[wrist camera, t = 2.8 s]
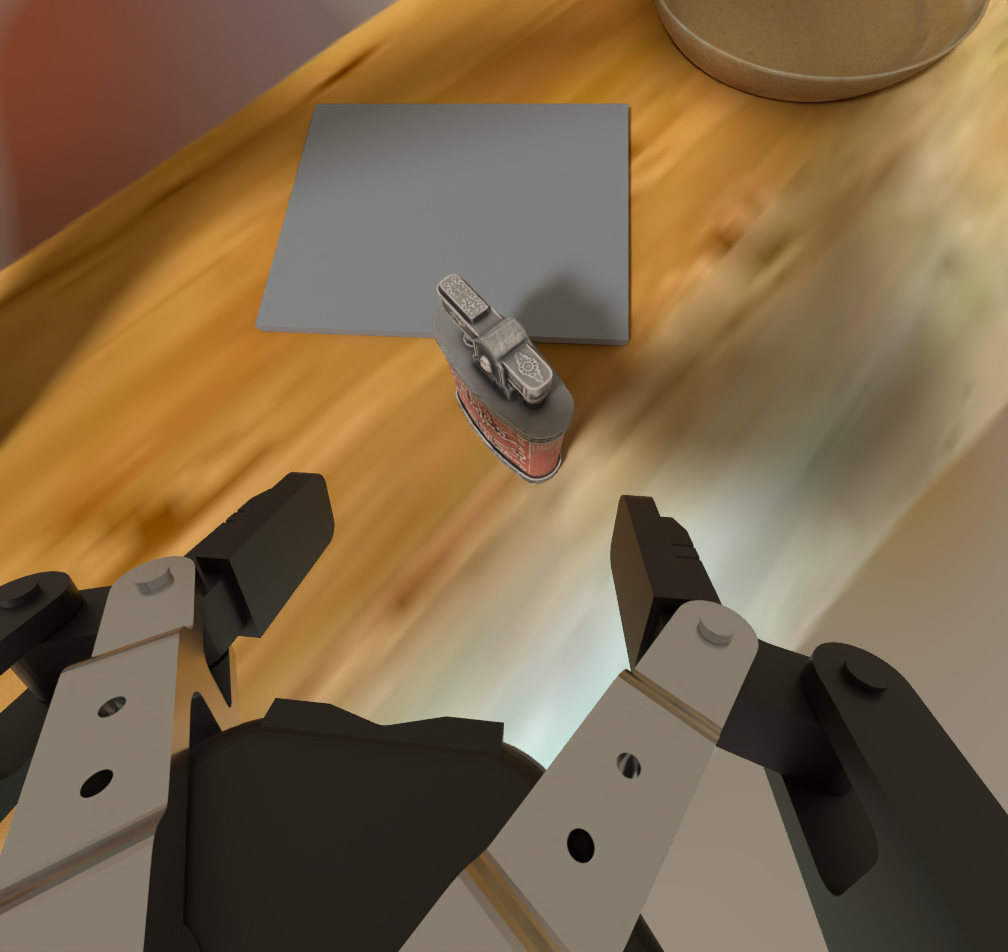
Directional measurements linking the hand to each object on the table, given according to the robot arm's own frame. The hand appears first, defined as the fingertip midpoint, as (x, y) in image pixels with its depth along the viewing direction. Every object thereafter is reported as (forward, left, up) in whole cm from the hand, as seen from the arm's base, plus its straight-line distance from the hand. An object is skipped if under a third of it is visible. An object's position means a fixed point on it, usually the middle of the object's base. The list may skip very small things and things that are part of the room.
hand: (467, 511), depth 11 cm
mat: (-5, +23, -12) cm, 27 cm away
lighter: (0, +7, -12) cm, 14 cm away
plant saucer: (+20, +44, -13) cm, 50 cm away
